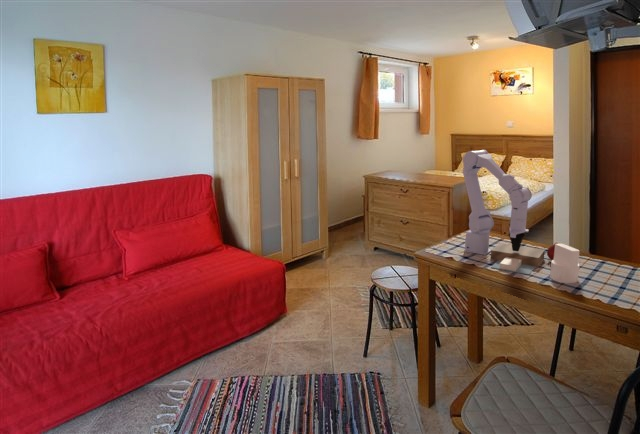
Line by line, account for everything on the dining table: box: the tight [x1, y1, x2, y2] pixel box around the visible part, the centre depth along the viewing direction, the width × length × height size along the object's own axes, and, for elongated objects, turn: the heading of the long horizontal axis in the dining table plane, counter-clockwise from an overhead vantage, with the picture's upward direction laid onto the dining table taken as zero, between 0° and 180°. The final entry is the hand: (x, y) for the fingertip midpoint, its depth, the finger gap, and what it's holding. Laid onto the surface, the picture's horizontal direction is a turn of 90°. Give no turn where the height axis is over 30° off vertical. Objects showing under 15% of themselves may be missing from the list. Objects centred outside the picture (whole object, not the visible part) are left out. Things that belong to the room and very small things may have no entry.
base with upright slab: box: [549, 243, 581, 284], centre depth 160 cm, size 9×9×12 cm
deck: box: [490, 242, 546, 269], centre depth 183 cm, size 18×12×4 cm, turn 54°
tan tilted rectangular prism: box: [500, 257, 522, 271], centre depth 174 cm, size 6×9×2 cm, turn 144°
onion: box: [546, 242, 559, 261], centre depth 178 cm, size 6×6×8 cm
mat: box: [490, 260, 536, 276], centre depth 174 cm, size 14×10×1 cm
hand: (515, 250), depth 179 cm, fingers closed
